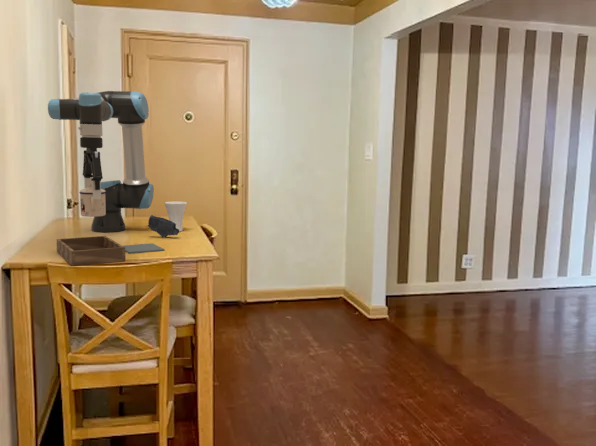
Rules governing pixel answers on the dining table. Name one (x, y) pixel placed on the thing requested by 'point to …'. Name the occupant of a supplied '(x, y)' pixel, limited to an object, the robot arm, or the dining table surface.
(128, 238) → the dining table surface
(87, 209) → the teacup with lid
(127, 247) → the mat
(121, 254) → the dark brown tray
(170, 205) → the cup
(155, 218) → the stone
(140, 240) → the dining table surface
